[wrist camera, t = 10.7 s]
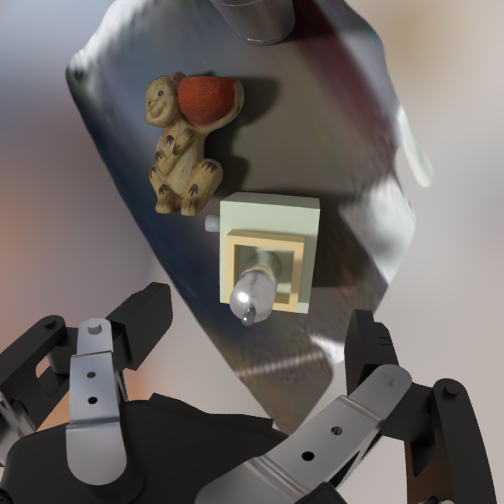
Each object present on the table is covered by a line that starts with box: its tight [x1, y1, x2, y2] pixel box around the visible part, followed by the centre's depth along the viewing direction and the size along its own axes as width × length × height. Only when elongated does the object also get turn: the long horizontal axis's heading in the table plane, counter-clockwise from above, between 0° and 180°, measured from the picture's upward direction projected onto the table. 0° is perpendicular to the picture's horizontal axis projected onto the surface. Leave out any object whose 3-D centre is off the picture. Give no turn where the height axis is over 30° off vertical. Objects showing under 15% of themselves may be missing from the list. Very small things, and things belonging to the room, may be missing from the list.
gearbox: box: [205, 192, 320, 313], centre depth 41 cm, size 14×15×10 cm
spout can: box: [229, 251, 282, 326], centre depth 33 cm, size 4×4×11 cm
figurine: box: [145, 72, 244, 215], centre depth 39 cm, size 15×9×20 cm
